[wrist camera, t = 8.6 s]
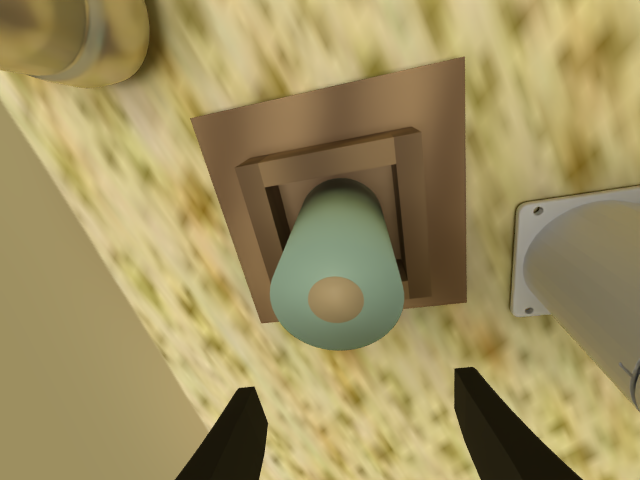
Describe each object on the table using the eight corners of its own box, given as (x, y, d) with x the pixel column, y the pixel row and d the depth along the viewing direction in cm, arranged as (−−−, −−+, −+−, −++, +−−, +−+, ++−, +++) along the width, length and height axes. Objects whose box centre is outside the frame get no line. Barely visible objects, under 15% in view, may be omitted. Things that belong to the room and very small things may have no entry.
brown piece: (457, 58, 15) (485, 50, 12) (461, 293, 21) (481, 328, 18) (198, 117, 18) (165, 122, 14) (264, 314, 23) (251, 349, 20)
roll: (377, 171, 17) (398, 231, 10) (386, 248, 19) (408, 346, 12) (292, 185, 18) (253, 250, 11) (309, 258, 20) (286, 355, 12)
